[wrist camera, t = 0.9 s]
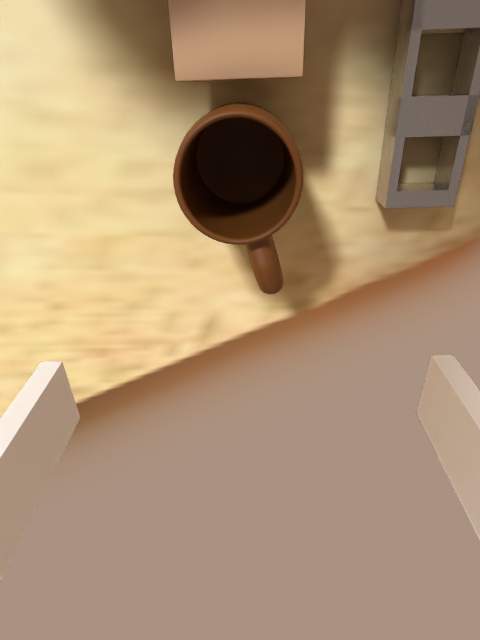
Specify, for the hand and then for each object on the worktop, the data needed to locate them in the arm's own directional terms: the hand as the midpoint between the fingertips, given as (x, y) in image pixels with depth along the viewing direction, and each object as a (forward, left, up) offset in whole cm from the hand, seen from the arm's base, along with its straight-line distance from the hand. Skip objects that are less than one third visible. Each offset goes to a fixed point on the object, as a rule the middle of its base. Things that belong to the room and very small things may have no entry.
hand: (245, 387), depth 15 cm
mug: (-3, 0, -22) cm, 22 cm away
